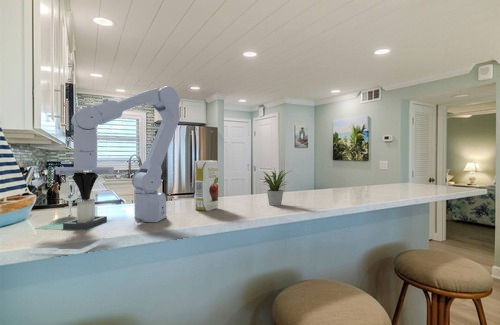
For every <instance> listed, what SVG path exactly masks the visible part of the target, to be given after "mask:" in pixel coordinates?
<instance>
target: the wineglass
mask: <svg viewBox="0 0 500 325" xmlns="http://www.w3.org/2000/svg"><path fill="white" fill-rule="evenodd" d="M59 188H60V189H59V196H60V198H61V200H64V201H67V202H68V208H69V214H68V215H69V216H72V206H73V201H75V200H77V199H79V197H81V194H80V191H79V188H78V186H77V184H76V183H75V181H74V180H73V181H71V180H69V181H62V182H61V184H60V187H59Z"/></svg>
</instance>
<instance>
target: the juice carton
mask: <svg viewBox="0 0 500 325" xmlns="http://www.w3.org/2000/svg"><path fill="white" fill-rule="evenodd" d="M218 208H219V161H218V160H195V161H194V210H197V211H203V212H204V211H205V212H209V211H212V210H216V209H218Z"/></svg>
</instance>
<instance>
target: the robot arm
mask: <svg viewBox="0 0 500 325" xmlns="http://www.w3.org/2000/svg"><path fill="white" fill-rule="evenodd" d="M180 101H181V97H180V96H179V93H178V92H177V90H176V89H175V88H174V87H173V86H170V85H165V86H163V87H156V88H153V89H148V90H145V91H142V92H139V93H137V94H135V95H133V96H130V97H127V98H124V99H123V100H119V101H118V100H115V99H113V98H111V99H109V98H105V99H103V100H102V102H99V103H97V104H95V105H91V104H88V105H86V107H83V108H81V109H78V111H76V112H74V114H73V115H72V116H71V120H70V122H71V125H72V127H73V138H72V139H73V166H63V167H61V166H59V167H55V175H73V176H72V180H73V181H75V183H76V184H77V186H78V188H79V191H80V197H81V200H88V199H91V194H92V191H93V187H94V186H95V183H96V181H97V179H98V177H99V175H112V174H114V173H115V171H114V170H115V168H114V167H113V166H98V153H97V151H98V147H97V145H98V142H97V141H98V138H97V137H98V136H97V127H98V126H100V125H101V126H102V125H103V124H107V123H110V122H112V121H114V120H116V119H120V118H121V117H122V116H123V114H124V111H127V110H128V111H129V110H130V109H132V108H136V107H139V106H142V105H146V106H149V107H150V106H152V107H153V109H155V111H157V113H158V114H159V115H160V117H161V122H160V125H159V127H158V129H157V132H156V135H155V137H154V139H153V141H152V144H151V147H150V149H149V151H148V153H147V156H146V157H145V161H144V162H143V163H142V164H141V165H140V167H139V169H138V170H137V171H136V172H135V173H134V174H133V176H132V178H131V184H132V186H133V187H134V191H133V192H134V219H137V220H138V221H137V222H138V223H139V222H142V223H144V222H145V223H146V222H147V223H159V222H160V221H163V220H164V219H165V218H167V217H168V215H167V197H166V194H165V193H164V192H159V188H160V187H161V184H162V175H163V169H162V165H163V163H164V160H165V157H166V155H167V153H168V150H169V147H170V145H171V142H172V141H173V137H174V135H175V132H176V130H177V128H178V124H179V123H180V119H181V117H180Z"/></svg>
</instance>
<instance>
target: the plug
mask: <svg viewBox="0 0 500 325" xmlns="http://www.w3.org/2000/svg"><path fill="white" fill-rule="evenodd" d="M95 202H96V200H95V198H90V199H88V200H82V199H81V200H78V201H76V213H77V214H76V215H77V216H76V219H77V223H86V222H89V221H91V220H94V219H95V216H96V206H95V205H96V203H95Z"/></svg>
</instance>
